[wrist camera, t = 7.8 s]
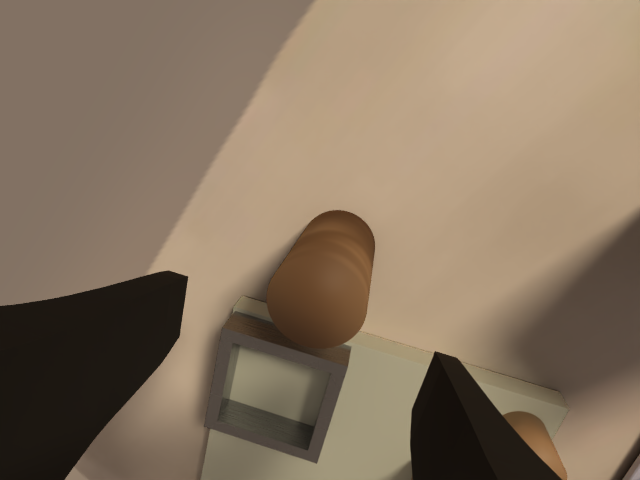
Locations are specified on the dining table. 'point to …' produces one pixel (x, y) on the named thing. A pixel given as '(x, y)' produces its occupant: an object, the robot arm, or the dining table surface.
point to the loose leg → (324, 282)
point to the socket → (259, 422)
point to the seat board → (362, 412)
